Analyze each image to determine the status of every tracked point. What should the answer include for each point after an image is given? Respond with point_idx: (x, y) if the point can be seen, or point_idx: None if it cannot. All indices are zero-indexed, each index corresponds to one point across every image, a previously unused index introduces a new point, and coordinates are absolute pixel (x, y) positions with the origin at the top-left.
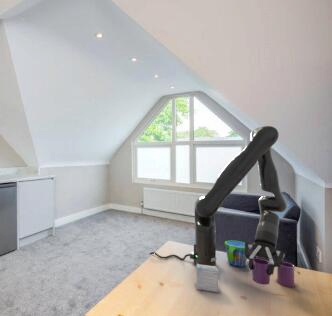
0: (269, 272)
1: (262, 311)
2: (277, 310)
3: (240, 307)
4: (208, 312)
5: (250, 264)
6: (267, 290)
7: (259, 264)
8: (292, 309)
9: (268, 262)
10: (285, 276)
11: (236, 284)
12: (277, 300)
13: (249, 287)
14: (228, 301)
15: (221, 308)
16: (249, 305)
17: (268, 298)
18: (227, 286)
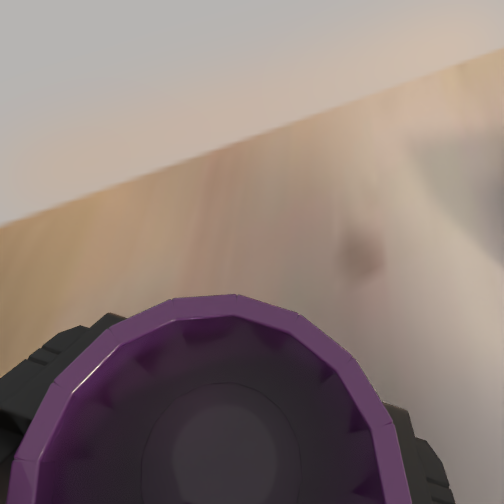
0: (118, 318)
1: (255, 143)
2: (167, 184)
3: (368, 136)
4: (497, 49)
5: (407, 444)
6: None
7: (265, 305)
8: (64, 232)
9: (29, 494)
10: None
11: None
12: (127, 315)
13: None
14: (438, 169)
15: (455, 95)
16: (322, 174)
17: None
18: (493, 382)
